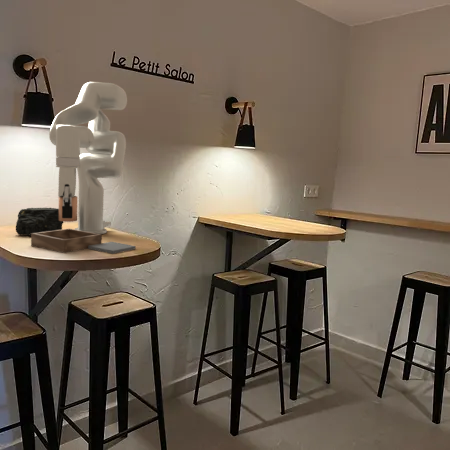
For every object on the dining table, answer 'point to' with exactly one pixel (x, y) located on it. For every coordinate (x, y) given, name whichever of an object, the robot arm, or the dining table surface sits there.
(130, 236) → the dining table surface
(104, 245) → the mat
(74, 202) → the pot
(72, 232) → the brown wooden tray
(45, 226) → the rock
